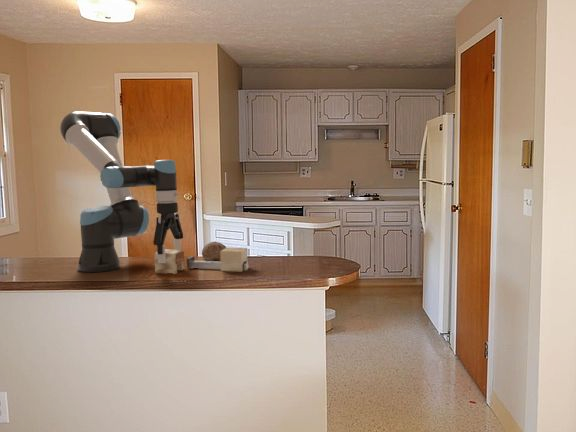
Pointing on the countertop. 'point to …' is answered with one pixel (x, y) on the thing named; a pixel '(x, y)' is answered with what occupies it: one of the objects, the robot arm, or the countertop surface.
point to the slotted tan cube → (170, 262)
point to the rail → (212, 265)
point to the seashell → (212, 251)
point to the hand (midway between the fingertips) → (170, 259)
